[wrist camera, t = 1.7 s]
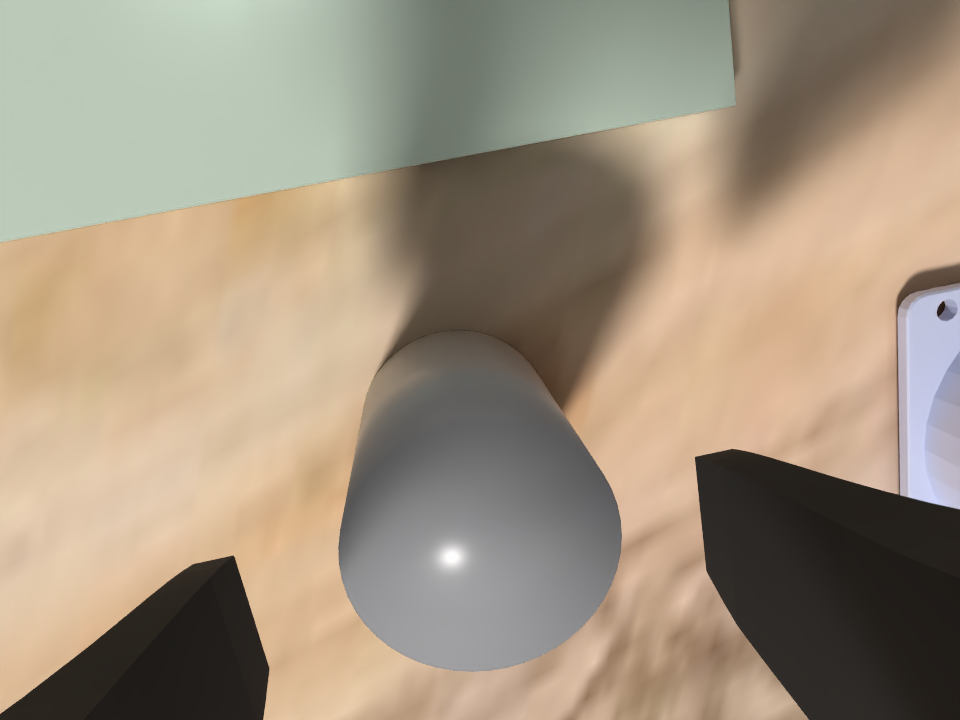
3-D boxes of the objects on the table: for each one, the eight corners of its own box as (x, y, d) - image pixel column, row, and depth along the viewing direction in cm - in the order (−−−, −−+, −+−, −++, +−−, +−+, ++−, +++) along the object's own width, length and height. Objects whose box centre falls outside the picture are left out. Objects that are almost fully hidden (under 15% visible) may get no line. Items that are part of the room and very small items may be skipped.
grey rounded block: (533, 313, 16) (602, 389, 10) (562, 496, 18) (639, 653, 12) (343, 350, 16) (306, 449, 10) (387, 533, 17) (377, 712, 12)
